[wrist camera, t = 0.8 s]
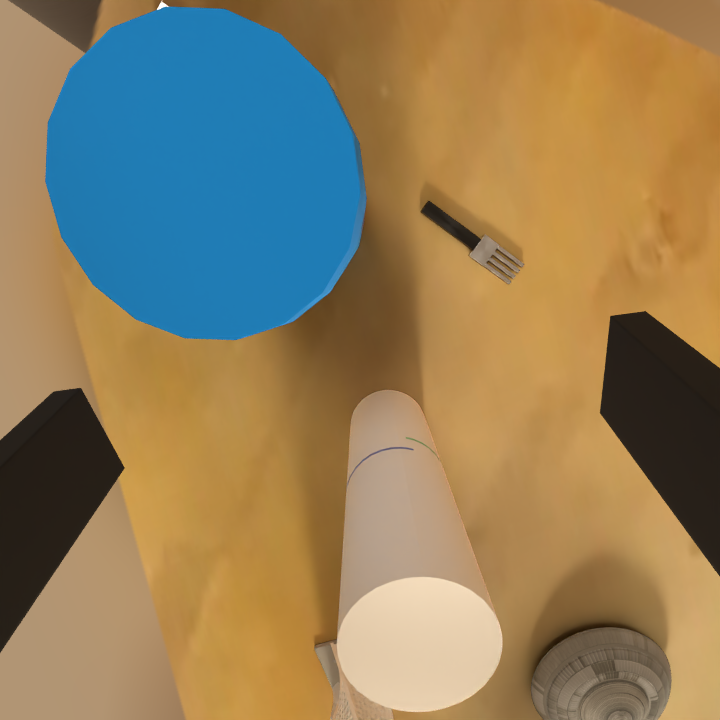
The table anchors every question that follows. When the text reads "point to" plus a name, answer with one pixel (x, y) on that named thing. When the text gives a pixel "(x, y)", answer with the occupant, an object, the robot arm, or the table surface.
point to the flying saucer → (602, 677)
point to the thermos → (204, 174)
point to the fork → (473, 242)
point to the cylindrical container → (408, 569)
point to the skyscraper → (347, 690)
